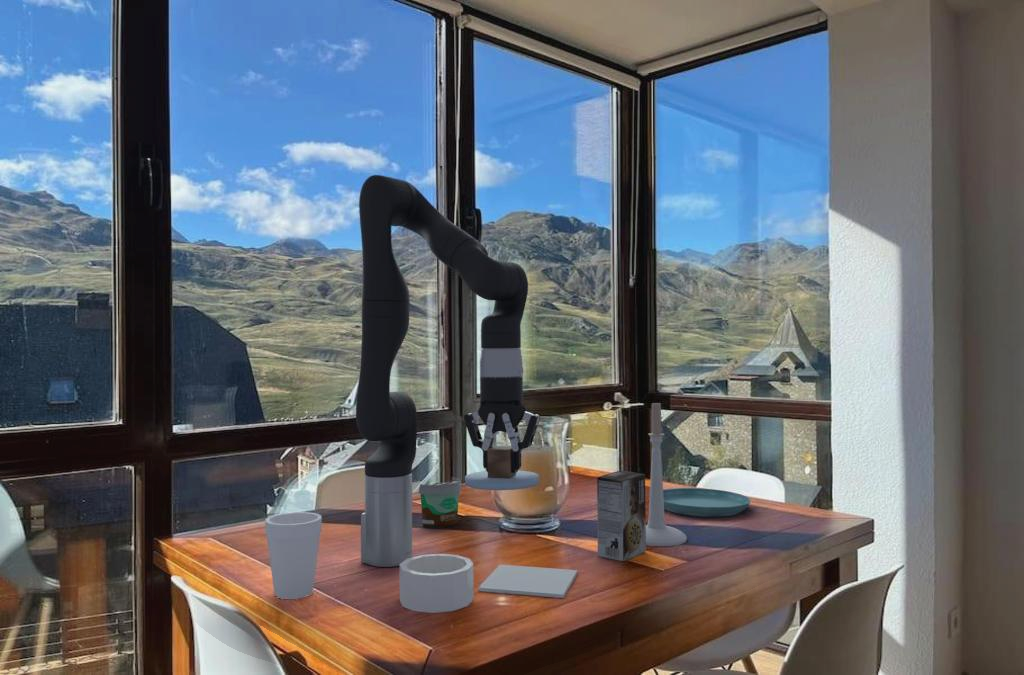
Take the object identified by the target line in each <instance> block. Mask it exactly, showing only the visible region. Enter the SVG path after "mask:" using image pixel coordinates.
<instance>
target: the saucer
mask: <svg viewBox="0 0 1024 675" xmlns="http://www.w3.org/2000/svg"><path fill="white" fill-rule="evenodd" d="M663 498H664V510H665V509H666V510H665V511H667V510H668V512H670V511H671V513H673V512H674V513H673V514H677V513H678V515H682V514H683V516H688V515H689V516H690V517H701V518H720V517H721V518H722V517H730V516H735V515H738V514H740V513H742V512H743V511H744V510H746V509H747V508H748V507H749V506H750V504H751V498H749V496H747V495H743V494H741V493H737V492H733V491H728V490H720V489H714V488H713V489H712V488H701V487H700V488H699V487H698V488H697V487H681V488H680V487H679V488H678V487H676V488H667V489H666V488H665V489H663Z"/></svg>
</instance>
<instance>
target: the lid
mask: <svg viewBox="0 0 1024 675" xmlns="http://www.w3.org/2000/svg"><path fill="white" fill-rule="evenodd" d="M511 452H512V447H511V445H509V446H508V445H507V446H506V445H504V446H503V445H493V446H492V447H491V448H489V449H487V454H488V472H487V471H486V470H483V471H482V470H481V471H475V472H472V473H469V474H467V475H465V476H464V483H465V486H467V487H469V488H471V489H475V490H476V489H477V490H485V491H515V490H525V489H529V488H532V487H537V486H538V485H539V484H540V475H539V474H538V473H535V472H532V471H528V470H527V471H526V470H518V472H516V473H512V472H511Z"/></svg>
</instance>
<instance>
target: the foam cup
mask: <svg viewBox="0 0 1024 675" xmlns="http://www.w3.org/2000/svg"><path fill="white" fill-rule="evenodd" d="M322 520H323V519H322V515H321V514H319V513H315V512H307V511H301V512H299V511H298V512H297V511H295V512H293V511H292V512H283V513H278V514H274V515H271V516H269V517H267V518H265V520H264V525H265V528H264V530H265V537H266V540H267V548H268V554H269V562H270V563H269V564H270V571H271V579H272V584H273V585H272V586H273V592H274V597H275V596H277V597H278V598H283V599H295V600H298V599H297V598H302V597H305V596H307V595H310V594H311V593H312V594H313V590H314V586H315V577H316V567H317V562H318V555H319V553H318V552H319V545H320V537H321V533H322V529H323V528H322V524H323V523H322ZM312 594H311V595H312ZM311 595H310V596H311ZM277 597H276V598H277ZM278 598H277V599H278ZM305 598H306V597H305ZM283 599H282V600H283ZM302 599H303V598H302Z"/></svg>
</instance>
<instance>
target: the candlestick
mask: <svg viewBox="0 0 1024 675" xmlns="http://www.w3.org/2000/svg"><path fill="white" fill-rule="evenodd" d="M664 436H665V433H662V404H661V403H660V402H659V403H658V402H657V401H655V403H654V402H653V403H651V433H648V437H650V439H649V442H650V443H651V445H652V448H651V461H650V465H651V466H650V480H649V481H650V483H649V504H648V506H649V507H648V520H647V521H648V522H647V523H646V546H648V547H675V546H679V545H683V544H685V543H686V542H687V540H688V537H687V535H686V533H684V532H683V531H681V530H680V529H677V528H676V527H672V526H669V525H667V524H666V520H665V509H664V498H663V490H664V483H663V480H664V479H663V467H662V466H663V465H662V463H663V462H662V450H661V444H662V442H663V437H664Z"/></svg>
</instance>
